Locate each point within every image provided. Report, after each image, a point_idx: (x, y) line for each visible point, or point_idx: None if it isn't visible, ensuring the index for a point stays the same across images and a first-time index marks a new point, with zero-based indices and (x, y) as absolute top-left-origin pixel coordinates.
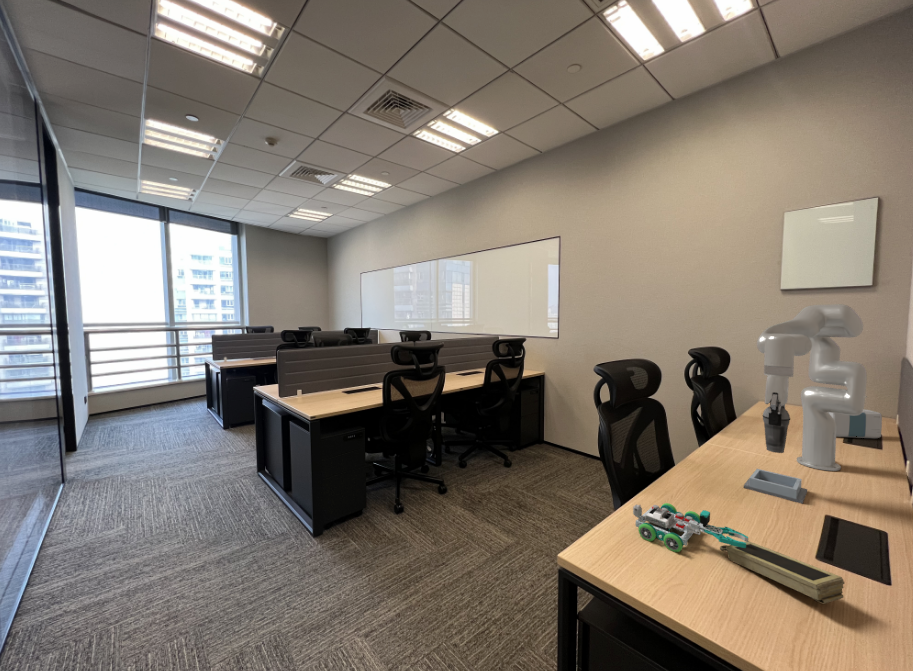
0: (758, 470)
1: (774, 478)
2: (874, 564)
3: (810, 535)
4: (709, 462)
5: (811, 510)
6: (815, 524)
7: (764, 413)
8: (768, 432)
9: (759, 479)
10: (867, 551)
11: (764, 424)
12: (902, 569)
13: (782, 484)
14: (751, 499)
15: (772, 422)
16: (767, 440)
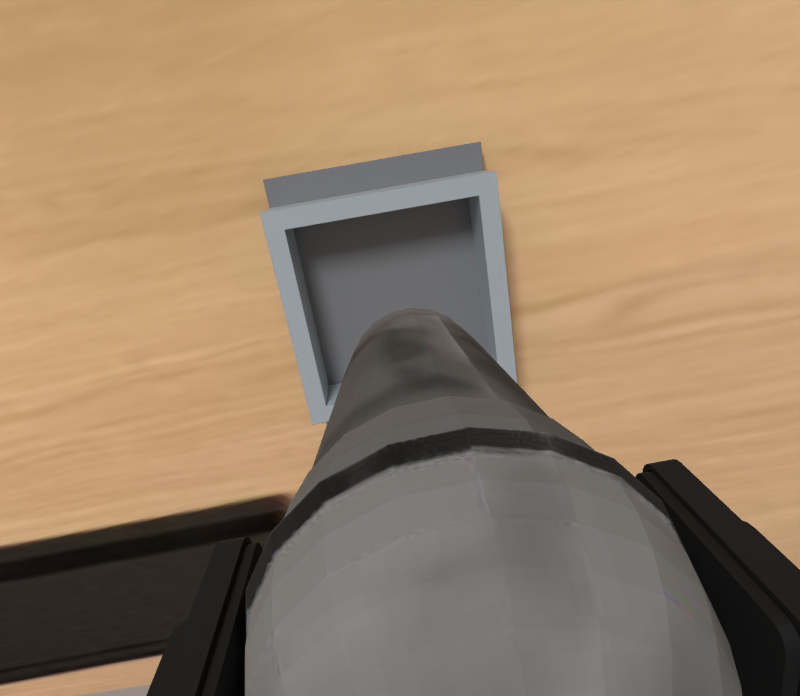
0: (464, 192)
1: (481, 267)
2: (14, 657)
3: (17, 520)
4: None
5: (279, 455)
6: (142, 502)
7: (313, 564)
8: (329, 424)
9: (290, 260)
10: (89, 631)
11: (384, 403)
12: (64, 693)
13: (472, 302)
14: (140, 268)
15: (181, 630)
16: (352, 365)
